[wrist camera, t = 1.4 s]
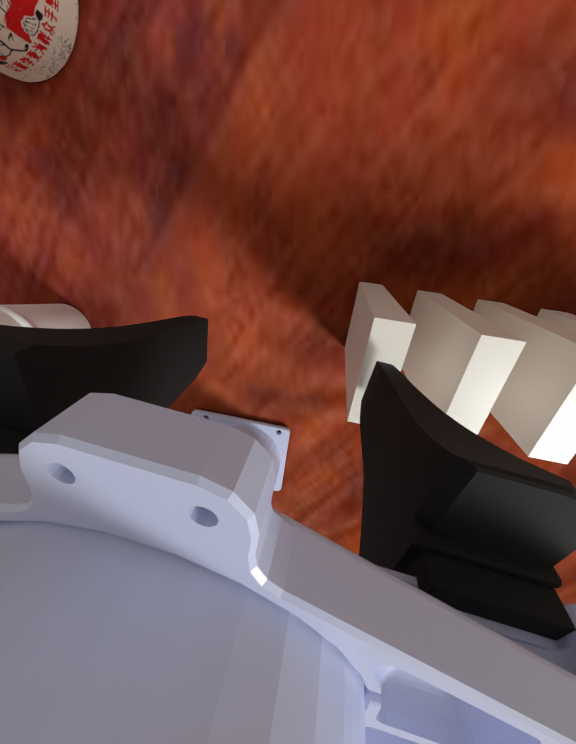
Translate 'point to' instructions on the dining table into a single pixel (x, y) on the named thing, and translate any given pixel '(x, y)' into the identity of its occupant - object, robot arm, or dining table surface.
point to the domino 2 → (458, 358)
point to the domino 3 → (537, 384)
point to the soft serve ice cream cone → (43, 316)
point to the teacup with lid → (36, 37)
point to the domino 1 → (373, 340)
